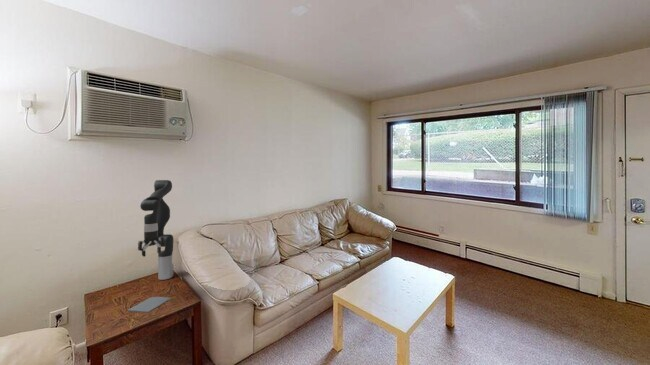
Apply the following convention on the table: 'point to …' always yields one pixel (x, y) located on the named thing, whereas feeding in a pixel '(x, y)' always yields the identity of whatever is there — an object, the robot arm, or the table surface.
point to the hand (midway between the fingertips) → (151, 254)
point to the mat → (149, 304)
